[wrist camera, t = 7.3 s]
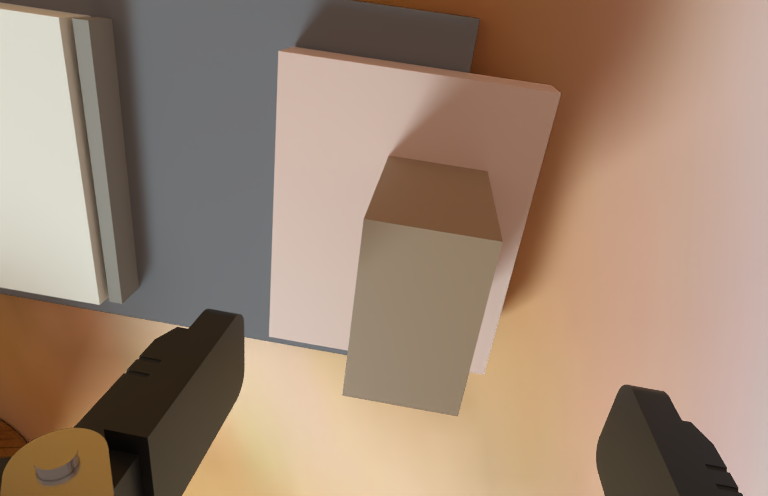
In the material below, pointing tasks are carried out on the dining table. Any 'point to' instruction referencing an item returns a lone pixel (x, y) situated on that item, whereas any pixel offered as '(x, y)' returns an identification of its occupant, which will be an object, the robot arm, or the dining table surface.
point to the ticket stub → (400, 216)
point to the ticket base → (166, 143)
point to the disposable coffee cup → (9, 441)
